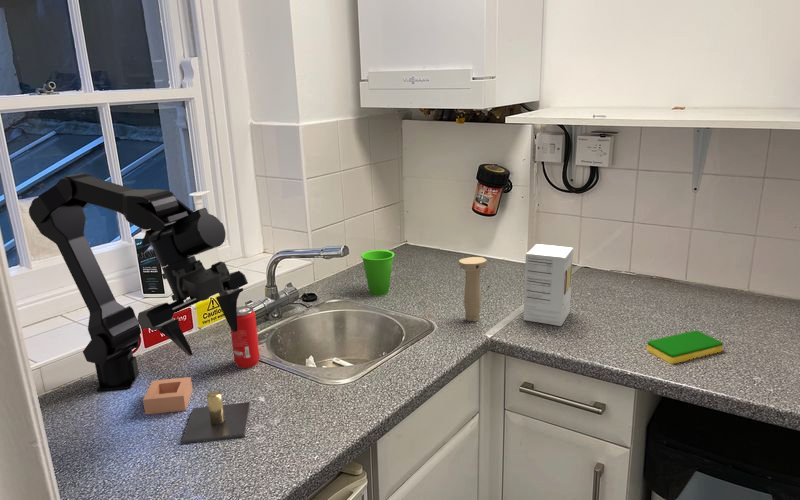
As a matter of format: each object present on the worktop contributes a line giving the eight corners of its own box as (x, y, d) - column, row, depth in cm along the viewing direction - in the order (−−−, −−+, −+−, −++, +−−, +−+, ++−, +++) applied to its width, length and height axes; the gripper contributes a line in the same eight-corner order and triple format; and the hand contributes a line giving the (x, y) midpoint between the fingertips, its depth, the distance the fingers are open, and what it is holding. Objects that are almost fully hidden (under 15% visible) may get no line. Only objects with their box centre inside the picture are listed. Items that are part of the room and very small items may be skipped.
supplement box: (561, 327, 138) (565, 258, 133) (522, 320, 142) (524, 253, 137) (570, 312, 146) (574, 246, 141) (533, 306, 150) (535, 242, 145)
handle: (456, 317, 145) (456, 259, 140) (480, 313, 146) (480, 256, 142) (464, 325, 140) (464, 265, 136) (489, 321, 142) (489, 261, 138)
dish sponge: (645, 351, 126) (646, 341, 125) (695, 339, 130) (696, 329, 130) (671, 366, 119) (672, 355, 119) (722, 353, 124) (724, 342, 123)
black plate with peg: (182, 443, 98) (178, 413, 97) (193, 410, 108) (189, 383, 106) (244, 436, 100) (241, 407, 98) (250, 405, 109) (246, 377, 107)
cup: (392, 299, 157) (391, 260, 154) (359, 298, 159) (357, 259, 156) (398, 287, 166) (397, 249, 163) (366, 286, 167) (364, 249, 164)
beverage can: (230, 363, 125) (223, 311, 122) (251, 355, 128) (246, 303, 125) (243, 371, 121) (236, 317, 118) (264, 363, 125) (259, 310, 121)
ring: (145, 414, 107) (142, 399, 106) (154, 394, 114) (152, 380, 113) (185, 410, 108) (183, 395, 107) (192, 390, 115) (190, 377, 114)
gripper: (144, 276, 91) (185, 368, 93) (245, 235, 103) (279, 317, 105) (120, 284, 99) (158, 368, 101) (216, 246, 111) (248, 321, 113)
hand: (213, 343), depth 105 cm, fingers open, 9 cm apart
